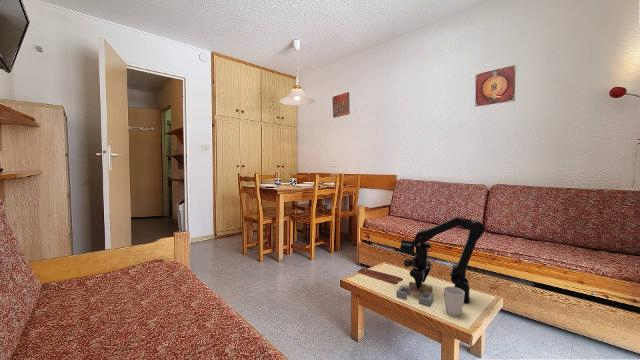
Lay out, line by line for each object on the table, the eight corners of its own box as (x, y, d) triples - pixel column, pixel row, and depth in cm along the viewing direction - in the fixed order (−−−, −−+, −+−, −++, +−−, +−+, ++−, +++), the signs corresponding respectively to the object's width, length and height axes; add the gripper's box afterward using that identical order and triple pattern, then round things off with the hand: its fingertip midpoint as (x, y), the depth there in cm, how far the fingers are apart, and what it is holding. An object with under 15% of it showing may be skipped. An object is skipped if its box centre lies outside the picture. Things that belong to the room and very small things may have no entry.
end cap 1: (396, 296, 130) (396, 290, 130) (401, 291, 136) (401, 285, 136) (406, 299, 128) (406, 293, 128) (410, 294, 134) (410, 288, 134)
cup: (448, 306, 122) (449, 284, 122) (467, 314, 116) (468, 291, 115) (439, 311, 117) (440, 289, 117) (458, 320, 111) (459, 296, 110)
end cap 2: (433, 300, 127) (433, 294, 127) (429, 306, 121) (429, 300, 121) (423, 297, 130) (423, 291, 130) (418, 303, 124) (419, 297, 124)
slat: (432, 292, 136) (432, 286, 136) (431, 295, 133) (431, 288, 133) (409, 287, 141) (410, 281, 141) (408, 290, 138) (408, 283, 138)
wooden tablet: (403, 280, 152) (404, 277, 152) (396, 285, 144) (396, 282, 144) (363, 268, 169) (363, 265, 169) (355, 272, 162) (355, 270, 162)
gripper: (411, 248, 149) (410, 275, 149) (399, 256, 133) (399, 287, 134) (432, 251, 142) (431, 280, 143) (422, 261, 127) (422, 293, 128)
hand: (420, 285), depth 137 cm, fingers open, 9 cm apart
